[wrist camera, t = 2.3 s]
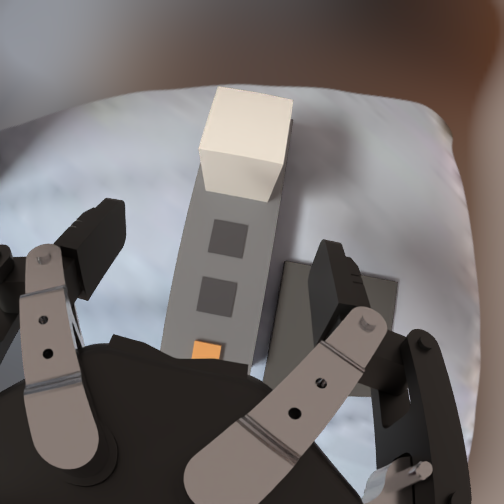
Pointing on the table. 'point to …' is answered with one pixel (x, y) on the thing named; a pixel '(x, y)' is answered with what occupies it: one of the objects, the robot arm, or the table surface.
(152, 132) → the table surface
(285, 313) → the mat
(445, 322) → the table surface
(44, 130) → the table surface
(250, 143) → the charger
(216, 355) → the power strip
